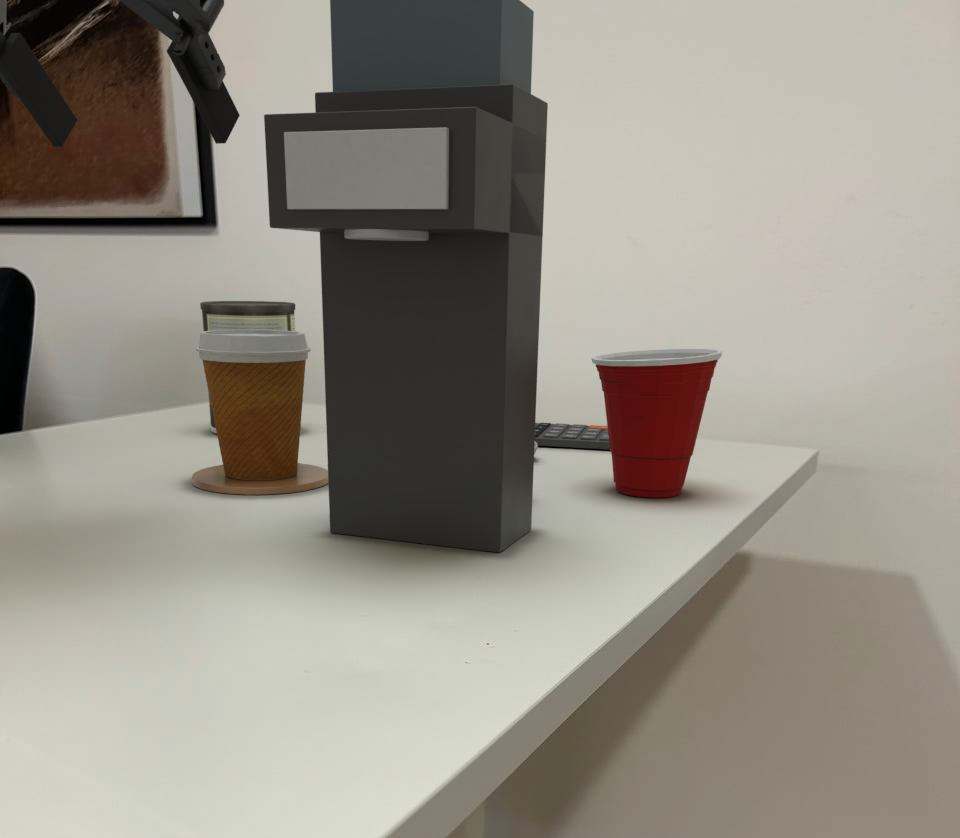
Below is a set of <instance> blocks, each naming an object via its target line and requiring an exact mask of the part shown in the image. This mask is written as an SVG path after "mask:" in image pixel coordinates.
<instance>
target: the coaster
mask: <svg viewBox="0 0 960 838" xmlns="http://www.w3.org/2000/svg"><path fill="white" fill-rule="evenodd" d="M191 482H192V485H193V486H194V487H195V488H197V489H201V490H204V491H206V492H212V493H219V494H226V495H227V494H229V495H241V496H242V495H245V496H250V495H251V496H254V495H255V496H257V495H258V496H262V495H282V494H291V493H299V492H305V491H310V490H314V489H318V488H321V487H325V486H326V485H327V484H329V483H328V469H326V468H324V467H322V466H317V465H313V464H309V463H300V462H298V465H297V474H296V475H294V476H291V477H288V478H283V479H275V480H263V481H258V480H241V479H234V478H231V477H228V476H226V475H225V472H224V467H223V464H218V465H213V466H209V467H205V468H202V469H199V470H197V471H195V472H194V473H192V475H191Z"/></svg>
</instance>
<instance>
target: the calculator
mask: <svg viewBox="0 0 960 838" xmlns="http://www.w3.org/2000/svg"><path fill="white" fill-rule="evenodd" d="M535 442H536V443H537V445H538V447H539V446H541V447H558V448H576V449H595V450H596V449H597V450H610V445H609V436H608V427H607V425H597V424H596V425H595V424H590V425H587V424H579V423H578V424H577V423H573V424H570V423H559V422H558V423H552V422H535Z"/></svg>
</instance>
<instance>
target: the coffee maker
mask: <svg viewBox="0 0 960 838" xmlns="http://www.w3.org/2000/svg"><path fill="white" fill-rule="evenodd" d="M329 7H330V8H329V10H330V11H329V12H330V41H331V45H330V47H331V76H332V77H331V78H332V91H316V92H315V93H314V107H315V109H314V110H315V112H293V113H266V114H263V120H264V121H263V123H264V141H265V143H264V144H265V158H266V163H265V164H266V179H267V181H266V182H267V198H268V199H267V200H268V201H267V202H268V220H269V228H271V229H279V230H290V231H301V232H302V231H303V232H315V233H319V252H320V253H319V254H320V273H321V274H320V278H321V281H320V282H321V305H322V306H321V307H322V308H321V310H322V336H323V364H324V366H323V367H324V394H325V397H324V398H325V423H326V450H327V453H326V454H327V470H328V483H327V484H328V505H329V509H328V510H329V532H330V534H339V535H346V536H356V537H363V538H364V537H365V538H372V539H382V540H388V541H389V540H390V541H396V542H405V543H415V544H423V545H431V546H441V547H447V548H455V549H456V548H457V549H466V550H472V551H473V550H474V551H482V552H483V551H484V552H492V553H501V552H503V551H504V550H506V549H507V548H508V547H509V546H511V545H513V544H514V543H515V542H516V541H518V540H519V539H520V538H522V537H523V536H525V535H526V534H527V533H529V532H530V531H531V530H532V521H533V520H532V519H533V518H532V517H533V494H534V493H533V492H534V491H533V490H534V470H535V469H534V466H535V465H534V464H535V455H534V444H535V423H536V415H537V393H538V392H537V391H538V389H537V388H538V364H539V363H538V361H539V338H540V337H539V336H540V312H541V311H540V310H541V288H542V287H541V286H542V285H541V284H542V260H543V259H542V258H543V239H544V238H543V236H544V210H545V188H546V187H545V185H546V184H545V183H546V160H547V159H546V158H547V133H548V132H547V131H548V109H549V107H548V105H549V104H548V102H546V101H544V100H543V99H541V98H539V97H538V96H535V95H533V94H532V75H533V44H534V43H533V42H534V10H533V9H532V8H530V7H529V6H528V5H527V4H525V3H524V2H523V1H521V0H329Z"/></svg>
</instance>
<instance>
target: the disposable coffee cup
mask: <svg viewBox="0 0 960 838" xmlns="http://www.w3.org/2000/svg"><path fill="white" fill-rule="evenodd" d="M198 341H199V342H198V346H196V347H195V351H196V352H198V354H199V355H198V356H199V359H200V360H201V361H202V365H203V371H204V376H205V380H206V386H207V391H209V393H208V397H209V396H210V402H211V406H212V411H213V416H214V422H215V426H216V432H217V434H216V435H217V440H218V446H219V452H220V456H221V462H222V465H223V467H224V472H225V475H226V476H228V477H231V478H234V479H241V480H258V481H263V480H275V479H283V478H288V477H291V476H294V475H296V474H297V465H298V463H299V452H300V451H299V450H300V438H301V427H302V412H303V401H304V387H305V376H306V375H305V373H306V362H307V360H308V359H309V353H310V352H311V350H312V349H311V347H309V345H308V341H307V339H306V335H305V332H303V331H296V330H295V331H283V330H212V331H204V330H203V331H200V333H199V340H198Z"/></svg>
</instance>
